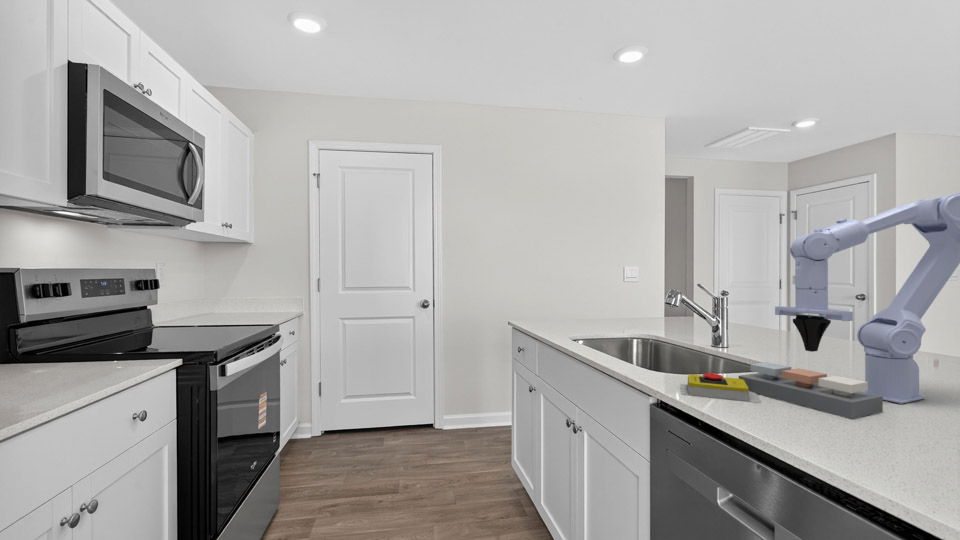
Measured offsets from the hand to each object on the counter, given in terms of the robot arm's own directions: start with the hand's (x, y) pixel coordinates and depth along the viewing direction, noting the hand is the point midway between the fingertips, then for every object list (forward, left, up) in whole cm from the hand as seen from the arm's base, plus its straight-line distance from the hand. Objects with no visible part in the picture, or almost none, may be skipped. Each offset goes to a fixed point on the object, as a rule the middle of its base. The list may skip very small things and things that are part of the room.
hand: (811, 350), depth 95 cm
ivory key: (+6, +9, -8) cm, 14 cm away
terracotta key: (+6, +2, -8) cm, 10 cm away
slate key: (+6, -5, -8) cm, 11 cm away
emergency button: (+18, -9, -10) cm, 23 cm away
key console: (+6, +2, -9) cm, 11 cm away
